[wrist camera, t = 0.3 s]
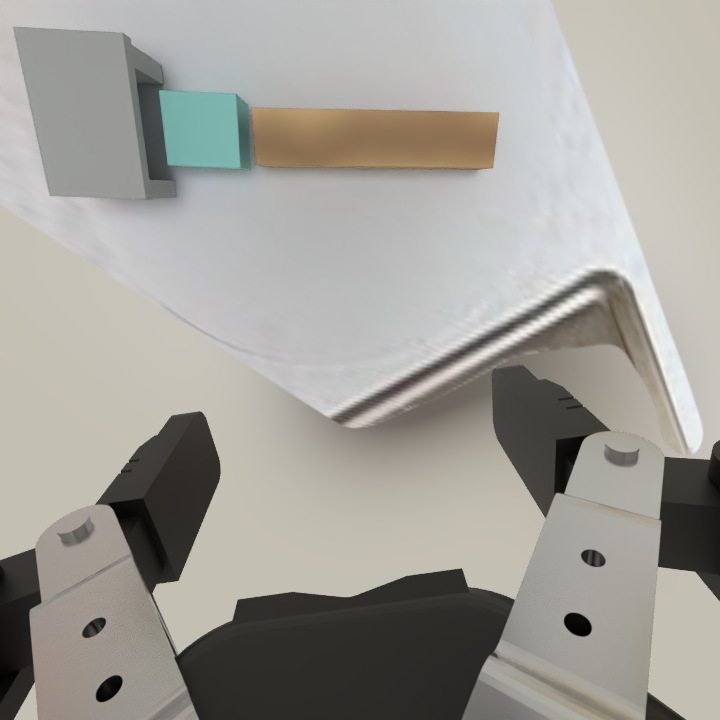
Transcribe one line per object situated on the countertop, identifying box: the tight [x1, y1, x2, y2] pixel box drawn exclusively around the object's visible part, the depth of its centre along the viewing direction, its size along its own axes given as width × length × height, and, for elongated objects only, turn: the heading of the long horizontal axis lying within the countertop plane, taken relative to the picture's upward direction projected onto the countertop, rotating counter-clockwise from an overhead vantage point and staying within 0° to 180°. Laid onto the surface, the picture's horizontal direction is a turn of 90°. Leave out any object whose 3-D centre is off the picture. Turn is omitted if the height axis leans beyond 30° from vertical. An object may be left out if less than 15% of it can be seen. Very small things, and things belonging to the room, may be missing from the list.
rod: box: [251, 108, 499, 170], centre depth 32 cm, size 4×17×4 cm, turn 90°
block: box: [159, 90, 251, 170], centre depth 31 cm, size 4×5×4 cm
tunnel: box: [13, 27, 176, 200], centre depth 29 cm, size 9×6×7 cm
